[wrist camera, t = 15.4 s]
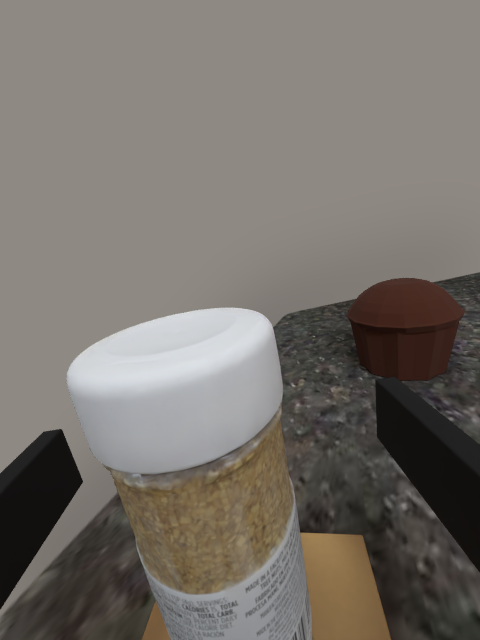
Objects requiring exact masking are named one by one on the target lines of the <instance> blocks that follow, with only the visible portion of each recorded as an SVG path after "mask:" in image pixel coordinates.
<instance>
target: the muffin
mask: <svg viewBox="0 0 480 640" xmlns="http://www.w3.org/2000/svg"><path fill="white" fill-rule="evenodd" d="M464 313H465V311H464V310H463V309H462V308H461V307H460V306H459V305H458V303H457V302H456V301H455V300H454V299H453V298H452V297H451V296H450V295H449V294H448V293H447V292H446V291H445V290H444V289H443V288H441V287H440V286H438V285H436V284H434V283H432V282H429V281H427V280H422V279H415V278H399V279H391V280H387V281H383V282H380V283H377V284H375V285H373V286H372V287H370V288H368V289H367V290H365V291H364V292H363V293H361V294H360V295H359V297H358V298H357V299H356V300H355V302H354V303H353V305H352V306H351V307H350V309H349V310H348V313H347V316H346V317H347V318H348V319H349V321H350V322H351V326H352V330H353V334H354V339H355V343H356V347H357V352H358V356H359V360H360V364H361V365H362V366H364V367H365V368H367V369H368V370H369V371H370V372H371V373H372V374H374V375H379V376H383V377H387V378H389V377H396V378H397V379H398V380H399V381H405V380H429V379H431V378H433V377H434V376H436V375H439V374H442V373H445V372H446V369H447V365H448V361H449V358H450V354H451V350H452V347H453V343H454V339H455V336H456V332H457V328H458V325H459V320H460V319H461V318H462V316H463V315H464Z"/></svg>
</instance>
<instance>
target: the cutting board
mask: <svg viewBox="0 0 480 640" xmlns="http://www.w3.org/2000/svg"><path fill="white" fill-rule="evenodd" d="M300 535H301V542H302V548H303V556H304V563H305V570H306V578H307V586H308V592H309V599H310V606H311V614H312V635H313V637H314V640H391V637H390V633H389V629H388V626H387V622H386V618H385V615H384V611H383V608H382V604H381V600H380V597H379V593H378V589H377V586H376V582H375V578H374V575H373V571H372V568H371V564H370V560H369V557H368V553H367V549H366V546H365V542H364V539H363V536H362V535H349V534H323V533H300ZM142 640H171V639H170V636H169V634H168V631H167V628H166V626H165V623H164V620H163V618H162V615H161V613H160V610H159V607H158V605H157V602H156V600H155V603H154V606H153V609H152V612H151V614H150V617H149V620H148V623H147V626H146V629H145V631H144V634H143V637H142Z"/></svg>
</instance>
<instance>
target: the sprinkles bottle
mask: <svg viewBox="0 0 480 640" xmlns="http://www.w3.org/2000/svg"><path fill="white" fill-rule="evenodd" d="M66 378H67V386H68V390H69V393H70V396H71V398H72V402H73V405H74V408H75V410H76V413H77V416H78V419H79V421H80V424H81V426H82V429H83V431H84V434H85V436H86V439H87V442H88V445H89V447H90V450H91V452H92V453H93V455H94V456H95V457H96V458H97V459H98V460H99V461H100V462H101V463H102V464H103V465H104V467H105V468H106V469H108V470H109V471H110V472H111V475H112V477H113V479H114V482H115V485H116V488H117V492H118V494H119V496H120V498H121V500H122V504H123V507H124V509H125V512H126V515H127V517H128V519H129V522H130V525H131V527H132V529H133V532H134V535H135V537H136V546H137V550H138V554H139V557H140V559H141V562H142V565H143V567H144V570H145V573H146V575H147V578H148V581H149V584H150V587H151V589H152V592H153V595H154V597H155V600H156V602H157V605H158V607H159V610H160V613H161V615H162V618H163V620H164V623H165V626H166V628H167V631H168V634H169V636H170V639H171V640H314V637H313V635H312V614H311V606H310V599H309V592H308V586H307V578H306V570H305V563H304V556H303V548H302V542H301V535H300V529H299V522H298V515H297V508H296V501H295V494H294V489H293V484H292V481H291V479H290V477H289V473H288V465H287V460H286V454H285V447H284V440H283V435H282V427H281V423H280V418H281V413H282V407H281V401H282V395H283V384H282V377H281V370H280V363H279V357H278V352H277V346H276V341H275V335H274V330H273V327H272V324H271V323H270V322H269V320H268V319H267V318H266V317H265V316H263V315H262V314H260V313H258V312H255V311H252V310H248V309H241V308H213V309H205V310H204V309H203V310H196V311H191V312H185V313H179V314H174V315H170V316H166V317H162V318H158V319H155V320H151V321H148V322H144V323H142V324H138V325H136V326H133V327H130V328H127V329H125V330H122V331H119V332H117V333H115V334H113V335H111V336H108V337H106V338H104V339H102V340H101V341H98V342H97V343H95V344H93V345H92V346H90V347H89V348H87V349H86V350H84V351H83V352H82V353H81V354H79V355H78V356H77V358H76V359H75V360H74V361H73V362H72V364H71V365H70V367H69V369H68V372H67V375H66Z"/></svg>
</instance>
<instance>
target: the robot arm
mask: <svg viewBox="0 0 480 640" xmlns="http://www.w3.org/2000/svg"><path fill="white" fill-rule="evenodd" d="M375 381H376V416H377V438H378V439H379V440H380V441H381V443H382V444H383V445H384V447H385V448H386V449H387V451H388V452H389V453H390V455H391V456H392V457H393V459H394V460H395V461H396V463H397V464H398V465H399V467H400V468H401V469H402V470H403V472H404V473H405V474H406V476H407V477H408V478H409V480H410V481H411V482H412V484H413V485H414V486H415V488H416V489H417V490H418V492H419V493H420V494H421V495H422V497H423V498H424V499H425V501H426V502H427V503H428V505H429V506H430V507H431V509H432V510H433V511H434V513H435V514H436V515H437V517H438V518H439V519H440V521H441V522H442V523H443V524H444V526H445V527H446V528H447V530H448V531H449V532H450V534H451V535H452V536H453V538H454V539H455V540H456V542H457V543H458V544H459V546H460V547H461V548H462V549H463V551H464V552H465V553H466V555H467V556H468V557H469V559H470V560H471V561H472V563H473V564H474V565H475V567H476V568H477V569H478V571H479V572H480V444H478V443H477V442H476V441H475V440H473V439H472V438H471V437H469V436H468V435H467V434H466V433H464V432H463V431H462V430H461V429H459V428H458V427H457V426H456V425H454V424H453V423H452V422H451V421H449V420H448V419H447V418H446V417H444V416H443V415H442V414H441V413H439V412H438V411H437V410H436V409H434V408H433V407H432V406H431V405H429V404H428V403H427V402H426V401H424V400H423V399H422V398H421V397H419V396H418V395H417V394H416V393H414V392H413V391H412V390H411V389H409V388H408V387H407V386H406V385H404V384H403V383H402V382H401V381H399V380H398V379H397V378H396V377H389V378H383V379H377V380H375ZM82 482H83V480H82V478H81V475H80V473H79V471H78V468H77V466H76V463H75V461H74V458H73V456H72V453H71V451H70V448H69V446H68V443H67V441H66V438H65V436H64V433H63V431H62V430H61V429H59V430H52V431H46V432H43V433H42V434H41V435H40V436H39V437H38V438H37V439H36V440H35V441H34V442H33V443H31V444H30V446H28V447H27V448H26V449H25V450H24V451H23V452H22V453H21V454H20V455H19V456H18V457H17V458H16V459H15V460H14V461H13V462H12V463H11V464H10V465H9V466H8V467H7V468H5V469H4V470H3V471H2V472H1V473H0V609H1V608H2V606H3V605H4V602H5V601H6V600H7V598H8V597H9V595H10V594H11V592H12V591H13V589H14V588H15V586H16V584H17V582H18V581H19V580H20V578H21V576H22V575H23V573H24V572H25V571H26V569H27V567H28V566H29V564H30V563H31V561H32V560H33V558H34V556H35V555H36V554H37V552H38V550H39V549H40V547H41V546H42V544H43V542H44V541H45V540H46V538H47V537H48V535H49V534H50V532H51V530H52V529H53V527H54V526H55V524H56V523H57V521H58V520H59V518H60V516H61V515H62V513H63V512H64V510H65V509H66V507H67V506H68V504H69V503H70V501H71V500H72V498H73V497H74V495H75V493H76V492H77V490H78V489H79V487H80V486H81V484H82Z"/></svg>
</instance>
